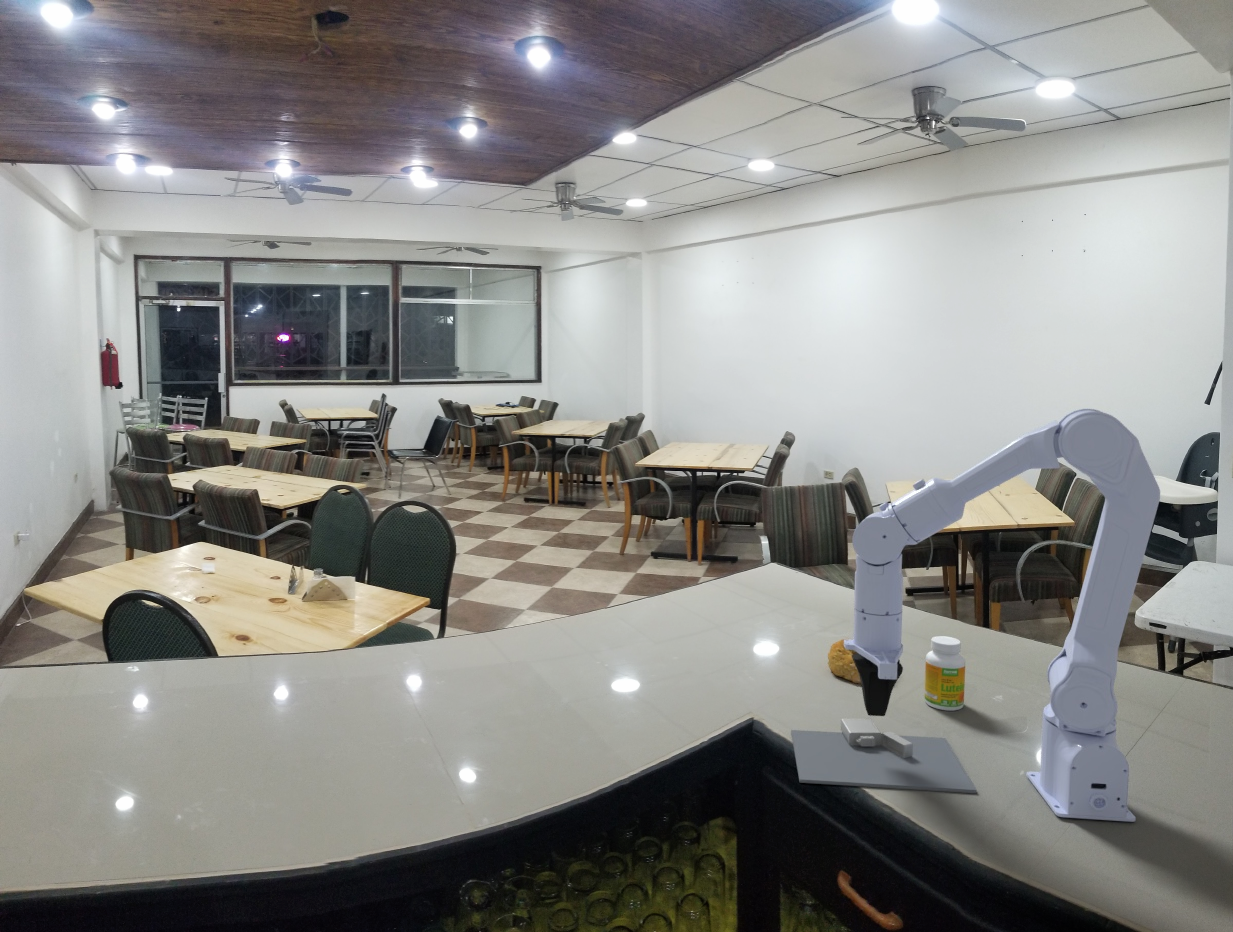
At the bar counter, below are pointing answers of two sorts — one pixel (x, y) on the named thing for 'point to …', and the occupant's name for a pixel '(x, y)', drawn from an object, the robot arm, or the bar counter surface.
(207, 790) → the bar counter surface
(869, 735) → the lighter
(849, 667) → the bagel
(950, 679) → the supplement bottle
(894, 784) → the mat
